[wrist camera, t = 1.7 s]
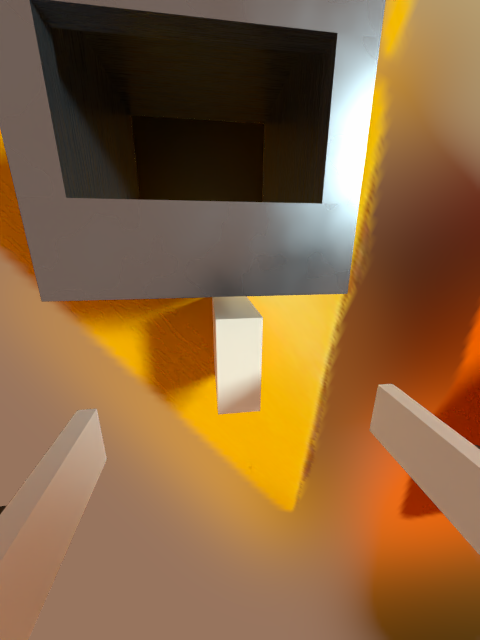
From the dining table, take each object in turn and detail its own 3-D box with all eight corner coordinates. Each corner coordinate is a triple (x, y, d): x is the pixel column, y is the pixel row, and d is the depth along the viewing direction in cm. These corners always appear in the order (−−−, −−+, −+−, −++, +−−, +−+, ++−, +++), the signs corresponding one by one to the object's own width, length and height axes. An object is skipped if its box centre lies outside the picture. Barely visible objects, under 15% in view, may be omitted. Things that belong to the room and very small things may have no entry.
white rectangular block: (212, 294, 23) (215, 319, 16) (244, 293, 24) (262, 317, 16) (214, 362, 25) (218, 414, 18) (243, 360, 26) (259, 410, 18)
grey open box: (277, 109, 19) (401, -120, 7) (271, 266, 23) (347, 293, 11) (114, 97, 18) (-83, -219, 6) (135, 267, 21) (41, 301, 9)
